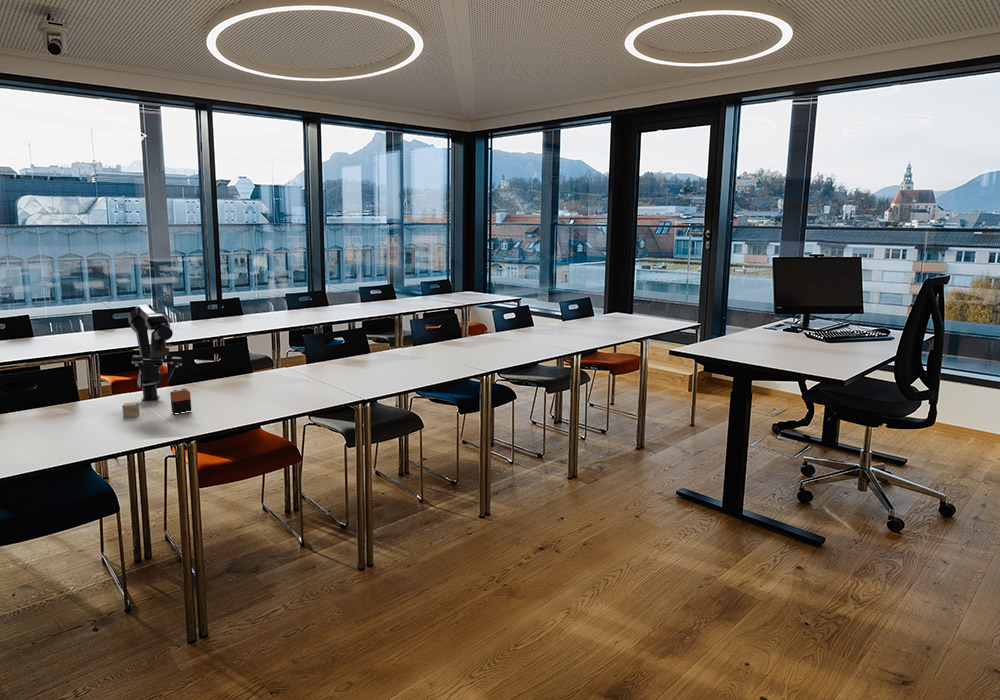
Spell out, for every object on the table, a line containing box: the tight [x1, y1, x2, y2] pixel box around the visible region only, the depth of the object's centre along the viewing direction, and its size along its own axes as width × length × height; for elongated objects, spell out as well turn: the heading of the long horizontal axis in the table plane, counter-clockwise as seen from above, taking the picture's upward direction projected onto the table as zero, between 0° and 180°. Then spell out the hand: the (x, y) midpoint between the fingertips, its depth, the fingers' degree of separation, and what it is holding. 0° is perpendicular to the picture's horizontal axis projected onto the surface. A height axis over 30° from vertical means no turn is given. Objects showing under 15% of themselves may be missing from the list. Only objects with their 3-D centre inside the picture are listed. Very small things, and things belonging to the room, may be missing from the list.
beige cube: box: [122, 401, 140, 419], centre depth 278 cm, size 5×5×5 cm
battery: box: [169, 387, 192, 415], centre depth 283 cm, size 4×7×10 cm, turn 131°
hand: (156, 380), depth 281 cm, fingers open, 9 cm apart
